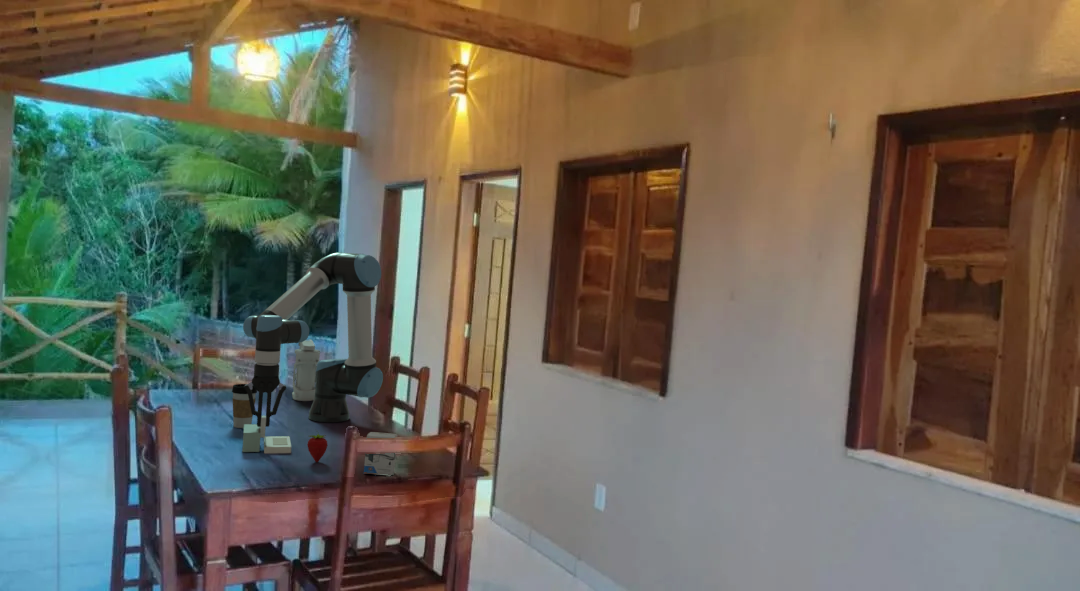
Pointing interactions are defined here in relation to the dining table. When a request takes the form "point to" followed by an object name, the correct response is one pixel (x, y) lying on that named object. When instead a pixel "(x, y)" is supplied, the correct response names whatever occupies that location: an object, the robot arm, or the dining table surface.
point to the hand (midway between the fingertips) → (262, 436)
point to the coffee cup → (242, 405)
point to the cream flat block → (277, 444)
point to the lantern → (305, 371)
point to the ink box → (380, 458)
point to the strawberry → (317, 446)
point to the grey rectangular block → (251, 438)
